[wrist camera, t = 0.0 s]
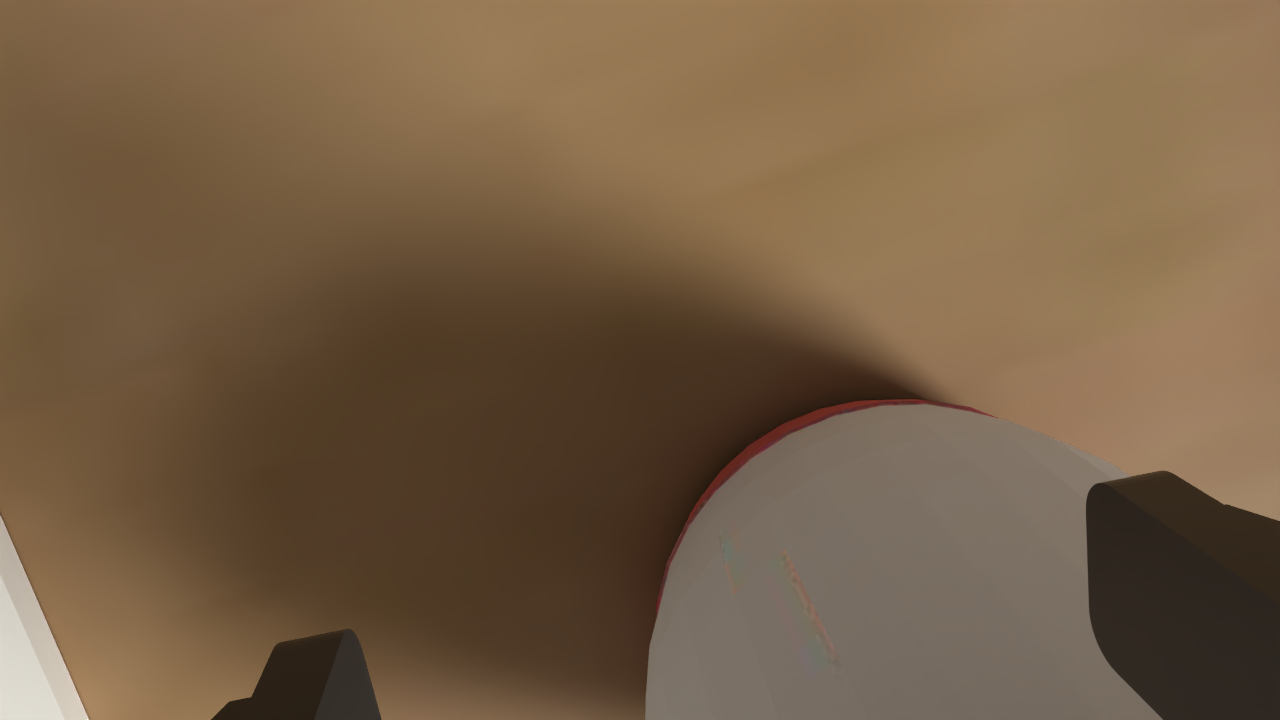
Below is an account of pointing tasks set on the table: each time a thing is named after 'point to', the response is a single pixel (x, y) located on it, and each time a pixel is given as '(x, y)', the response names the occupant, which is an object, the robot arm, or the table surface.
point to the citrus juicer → (888, 577)
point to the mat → (29, 651)
